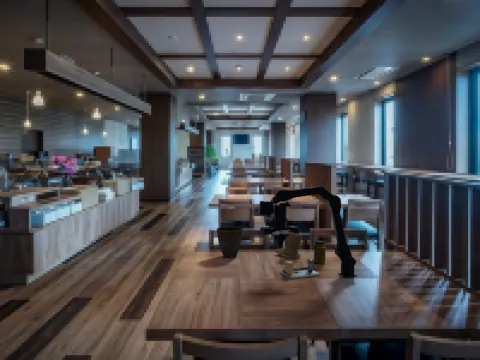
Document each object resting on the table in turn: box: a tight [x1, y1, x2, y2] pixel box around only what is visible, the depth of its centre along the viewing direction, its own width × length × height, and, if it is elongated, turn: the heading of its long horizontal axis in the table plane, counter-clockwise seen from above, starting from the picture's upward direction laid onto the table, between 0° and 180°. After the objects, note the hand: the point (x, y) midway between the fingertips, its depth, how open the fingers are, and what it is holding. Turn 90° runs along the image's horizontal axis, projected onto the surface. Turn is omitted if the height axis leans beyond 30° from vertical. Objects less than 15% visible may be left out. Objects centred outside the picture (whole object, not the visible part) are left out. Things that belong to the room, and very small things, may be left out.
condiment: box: [313, 240, 329, 267], centre depth 231 cm, size 7×8×12 cm
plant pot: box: [216, 226, 243, 259], centre depth 246 cm, size 15×15×16 cm
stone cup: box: [274, 232, 303, 259], centre depth 247 cm, size 15×12×15 cm
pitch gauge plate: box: [279, 258, 321, 280], centre depth 210 cm, size 11×16×6 cm
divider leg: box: [282, 260, 295, 274], centre depth 209 cm, size 6×2×5 cm, turn 23°
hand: (279, 248), depth 206 cm, fingers closed
